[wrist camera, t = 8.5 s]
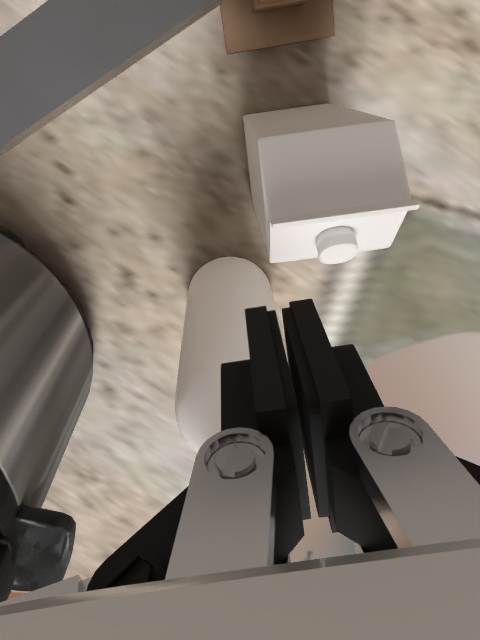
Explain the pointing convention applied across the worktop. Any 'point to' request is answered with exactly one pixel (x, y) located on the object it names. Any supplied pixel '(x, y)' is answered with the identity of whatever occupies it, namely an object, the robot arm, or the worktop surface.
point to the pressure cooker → (36, 413)
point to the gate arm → (78, 54)
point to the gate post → (274, 22)
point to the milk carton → (325, 182)
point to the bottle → (215, 339)
